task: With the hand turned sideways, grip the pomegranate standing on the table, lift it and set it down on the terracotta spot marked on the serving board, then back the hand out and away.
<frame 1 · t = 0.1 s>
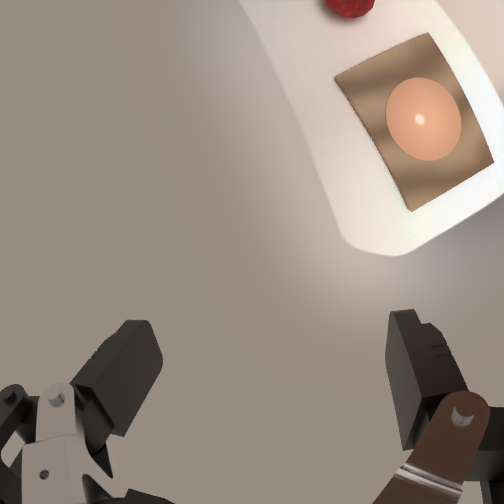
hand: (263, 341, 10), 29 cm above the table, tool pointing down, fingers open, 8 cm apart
serving board: (421, 119, 31), on the table
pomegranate: (345, 5, 27), on the table
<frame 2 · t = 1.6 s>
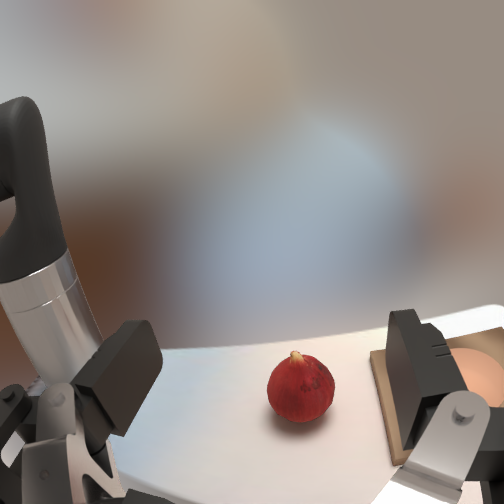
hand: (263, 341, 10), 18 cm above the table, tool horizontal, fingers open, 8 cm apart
serving board: (462, 389, 24), on the table
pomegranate: (302, 415, 26), on the table
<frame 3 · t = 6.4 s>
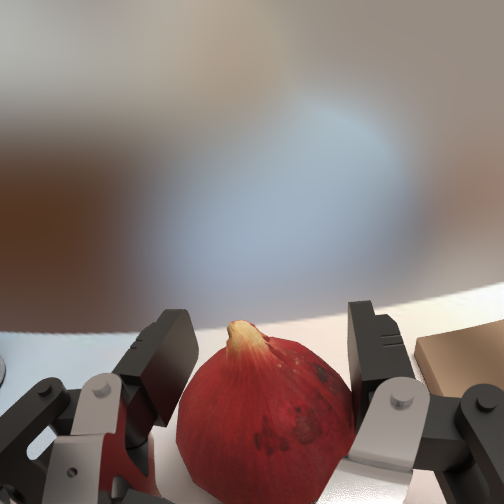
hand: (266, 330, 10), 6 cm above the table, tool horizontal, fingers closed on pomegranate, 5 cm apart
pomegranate: (276, 479, 10), on the table, touching gripper
when the fingers open (8 cm above the table, at t = 11.7 s): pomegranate stays where it is, resting on serving board.
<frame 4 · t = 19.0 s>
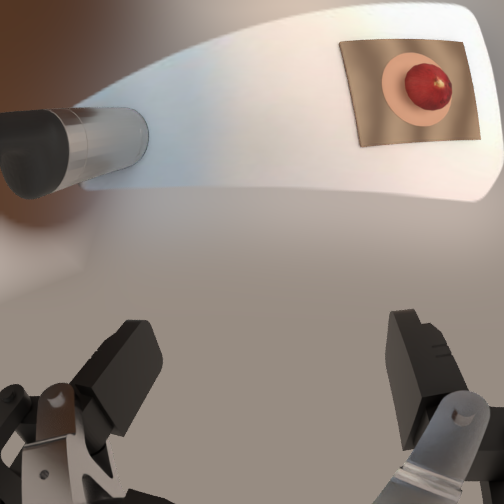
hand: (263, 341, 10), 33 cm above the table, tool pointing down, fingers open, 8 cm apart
serving board: (415, 89, 32), on the table
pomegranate: (418, 89, 31), point 1 cm above the table, touching serving board
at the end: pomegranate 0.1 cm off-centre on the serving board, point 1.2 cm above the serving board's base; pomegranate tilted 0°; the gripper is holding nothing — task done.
